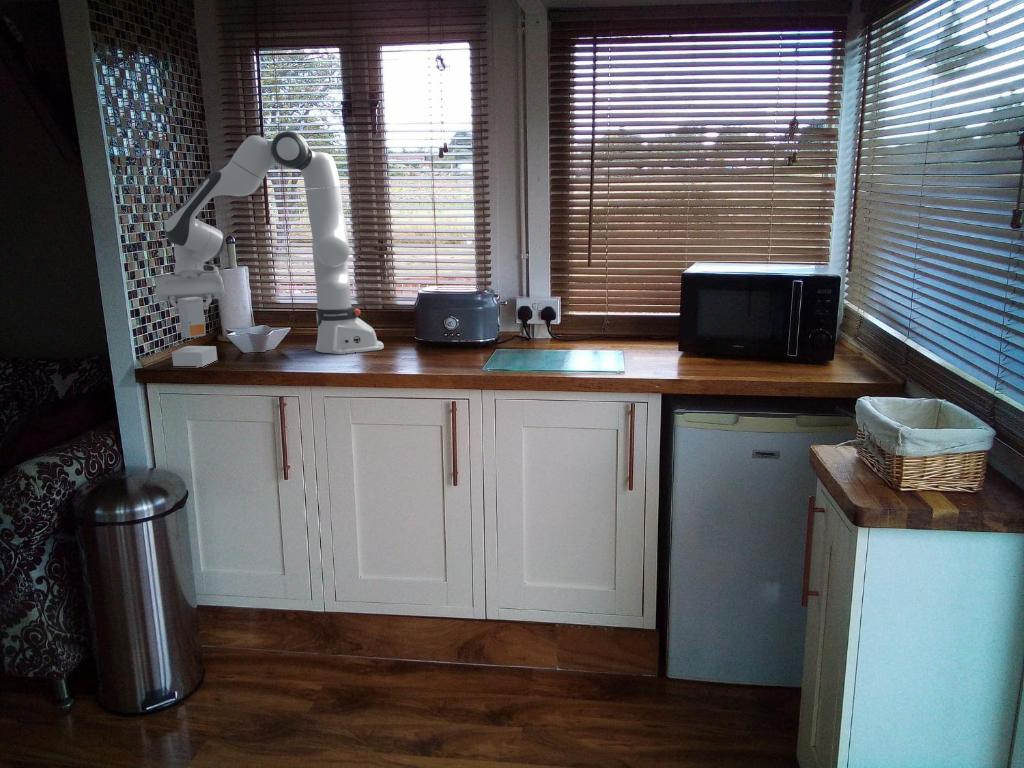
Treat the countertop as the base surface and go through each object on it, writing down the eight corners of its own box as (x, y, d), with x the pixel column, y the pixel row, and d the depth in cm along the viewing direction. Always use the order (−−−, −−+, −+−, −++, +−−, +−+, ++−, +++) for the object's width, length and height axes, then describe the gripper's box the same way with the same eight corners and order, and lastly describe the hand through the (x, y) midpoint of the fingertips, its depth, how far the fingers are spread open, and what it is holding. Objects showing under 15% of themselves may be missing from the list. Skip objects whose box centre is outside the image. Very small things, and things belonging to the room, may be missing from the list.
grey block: (217, 361, 264) (215, 346, 263) (202, 368, 255) (201, 352, 254) (189, 361, 265) (187, 345, 264) (173, 367, 256) (171, 352, 255)
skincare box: (189, 338, 255) (185, 299, 252) (181, 337, 258) (177, 298, 255) (206, 335, 260) (202, 297, 257) (198, 334, 262) (195, 296, 259)
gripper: (153, 269, 258) (153, 304, 251) (222, 266, 264) (224, 301, 257) (156, 281, 263) (156, 317, 257) (224, 279, 269) (226, 313, 262)
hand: (191, 309), depth 257 cm, fingers closed on skincare box, 7 cm apart
